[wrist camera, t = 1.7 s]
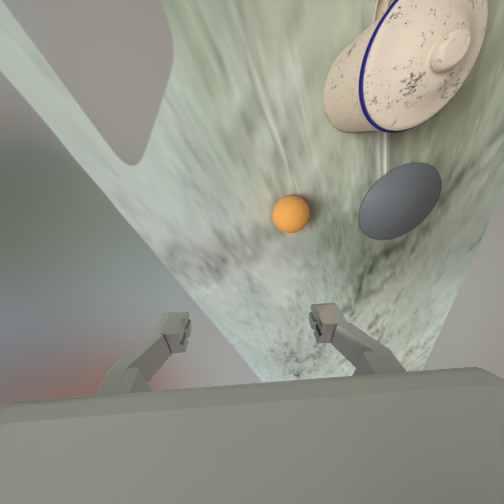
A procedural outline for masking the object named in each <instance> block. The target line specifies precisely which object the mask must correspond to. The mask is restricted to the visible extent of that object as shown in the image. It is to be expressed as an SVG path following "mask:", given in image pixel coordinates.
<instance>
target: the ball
mask: <svg viewBox="0 0 504 504" xmlns="http://www.w3.org/2000/svg"><path fill="white" fill-rule="evenodd" d="M309 216H310V210H309V207H308V204H307V203H306V202H305V200H303V199H302V198H300V197H298V196H294V195H289V196H285V197H283V198H281V199H280V200H279V201H278V202H277V203H276V204H275V206H274V208H273V212H272V218H273V222H274V224H275V225H276V227H277V228H278V229H280V230H281V231H283V232H287V233H294V232H297V231H299V230H301V229H302V228H303V227H304V226H305V225H306V224H307V222H308V220H309Z"/></svg>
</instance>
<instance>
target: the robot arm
mask: <svg viewBox="0 0 504 504" xmlns="http://www.w3.org/2000/svg"><path fill="white" fill-rule="evenodd" d="M310 309H311V312H310V313H309V322H310V325H311V328H312V329H314V330H315V331H314V335H315V338H316V340H317V343H331V344H332V345H333V346H334V347H335V348H336V349H337V350H338V351H339V352H340V353H341V354H342V355H343V356H344V357H345V358H346V359H347V360H348V361H350V362H351V363H352V364H353V365H354V366H355V367H356V369H355V371H354V373H353V375H352V376H345V377H332V378H319V379H305V380H292V381H279V382H265V383H252V384H239V385H226V386H212V387H199V388H186V389H172V390H159V391H152V389H151V387H150V386H149V384H148V382H149V381H150V379H151V378H152V377H153V376H154V375H155V373H156V372H157V371H158V370H159V369H160V367H161V366H162V365H163V364H164V363H165V361H166V360H167V359H168V358H169V357H170V355H171V353H181V352H185V351H186V348H187V344H188V339H187V338H188V337H189V336H190V333H191V320H189V319H188V318H189V314H188V312H169V313H163V314H162V315H161V317H160V319H159V321H158V323H157V325H156V327H155V329H154V332H153V334H152V335H151V336H148V337H147V338H146V339H145V340H143V341H142V342H141V343H140V344H139V345H137V346H136V347H135V348H134V349H133V350H131V351H130V352H129V353H128V354H127V355H125V356H124V357H123V358H122V359H121V360H120V361H118V362H117V363H116V364H115V365H113V366H112V367H111V368H110V369H109V371H108V373H107V374H106V376H105V377H104V379H103V381H102V383H101V384H100V386H99V387H98V389H97V391H96V392H95V394H94V395H93V396H79V397H66V398H52V399H39V400H23V401H14V402H9V403H6V404H4V405H2V406H0V504H504V379H502V378H500V377H498V376H496V375H495V374H492V373H490V372H488V371H486V370H484V369H481V368H477V367H465V368H452V369H439V370H425V371H412V372H406V371H405V369H404V368H403V367H402V365H401V364H400V363H399V361H398V360H397V359H396V357H395V356H394V355H393V353H392V352H391V351H390V349H388V348H387V347H385V346H384V345H382V344H381V343H379V342H378V341H376V340H375V339H373V338H372V337H370V336H369V335H367V334H366V333H364V332H363V331H361V330H360V329H358V328H357V327H355V326H354V325H352V324H351V323H348V322H347V321H346V319H345V318H344V316H343V314H342V313H341V311H340V310H339V308H338V307H337V305H336V304H335V303H327V304H326V303H325V304H312V305H311V308H310Z"/></svg>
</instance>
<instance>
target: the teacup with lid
mask: <svg viewBox="0 0 504 504" xmlns="http://www.w3.org/2000/svg"><path fill="white" fill-rule="evenodd" d="M390 1H391V0H376V4H375V9H374V15H373V22H372V24H371V25H370V26H369V27H368V28H367V29H366V30H365V31H363V32H362V33H361V34H360V35H359V36H358V37H357V38H355V39H354V40H353V41H352V42H351V43H350V44H349V45H347V46H346V47H345V48H344V49H343V50H342V52H341V53H340V54H339V55H338V57H337V58H336V60H335V61H334V63H333V65H332V67H331V69H330V71H329V73H328V76H327V79H326V83H325V87H324V97H323V100H324V109H325V113H326V116H327V118H328V120H329V122H330V123H331V124H332V125H333V126H334V127H335V128H336V129H338V130H340V131H343V132H363V131H378V130H381V131H384V132H391V133H394V132H402V131H405V130H408V129H411V128H413V127H415V126H417V125H419V124H421V123H423V122H425V121H426V120H428V119H429V118H431V117H432V116H433V115H434V114H436V113H437V112H438V111H439V110H440V109H442V108H443V107H444V106H445V105H446V104H447V103H448V102H449V101H450V99H451V98H452V97H453V96H454V95H455V94H456V92H457V91H458V90H459V88H460V87H461V86H462V84H463V83H464V81H465V80H466V78H467V76H468V75H469V73H470V71H471V69H472V67H473V65H474V63H475V61H476V59H477V57H478V54H479V52H480V49H481V46H482V43H483V40H484V36H485V32H486V26H487V18H488V5H487V0H395V1H394V2H393V3H392V5H391V6H390V7H389V5H390Z"/></svg>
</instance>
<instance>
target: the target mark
mask: <svg viewBox="0 0 504 504" xmlns="http://www.w3.org/2000/svg"><path fill="white" fill-rule="evenodd" d="M440 191H441V178H440V175H439V173H438V172H437V170H436V169H435V168H434V167H432V166H430V165H428V164H424V163H410V164H405V165H402V166H400V167H397V168H395V169H393V170H392V171H390V172H388V173H387V174H385V175H384V176H383V177H381V178H380V179H379V180H378V181H377V182H376V183H375V184H374V185H373V186H372V187H371V189H370V190H369V191H368V193H367V194H366V196H365V197H364V199H363V201H362V204H361V206H360V210H359V216H358V217H359V225H360V228H361V230H362V231H363V232H364V234H366V235H367V236H368V237H370V238H373V239H376V240H388V239H393V238H396V237H399V236H402V235H404V234H406V233H407V232H409V231H411V230H412V229H414V228H415V227H416V226H418V225H419V224H420V223H421V222H422V221H423V220H424V219H425V218H426V217H427V216H428V215H429V214H430V212H431V211H432V209H433V208H434V206H435V204H436V202H437V200H438V198H439V195H440Z"/></svg>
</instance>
